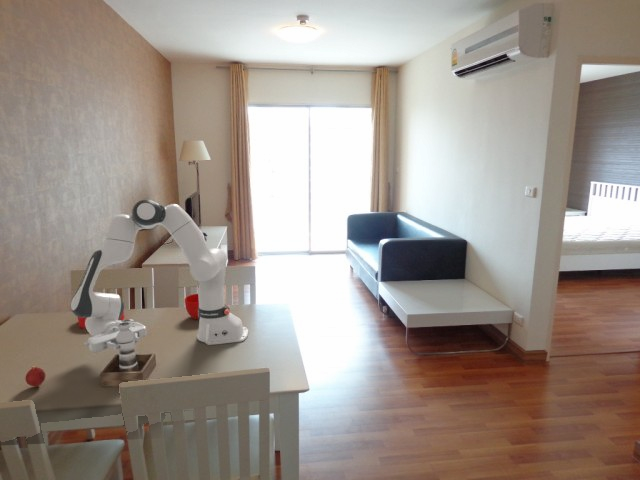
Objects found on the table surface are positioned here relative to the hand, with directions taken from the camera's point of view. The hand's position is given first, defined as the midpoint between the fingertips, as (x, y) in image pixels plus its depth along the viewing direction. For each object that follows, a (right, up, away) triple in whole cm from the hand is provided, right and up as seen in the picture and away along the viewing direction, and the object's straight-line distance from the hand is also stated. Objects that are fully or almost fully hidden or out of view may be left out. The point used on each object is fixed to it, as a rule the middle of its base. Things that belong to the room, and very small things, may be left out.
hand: (127, 343), depth 154 cm
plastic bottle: (-1, -12, +3) cm, 13 cm away
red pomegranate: (-30, -14, -4) cm, 34 cm away
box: (0, -13, +3) cm, 13 cm away
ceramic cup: (+10, -1, +60) cm, 61 cm away
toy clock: (-37, -2, +54) cm, 65 cm away
